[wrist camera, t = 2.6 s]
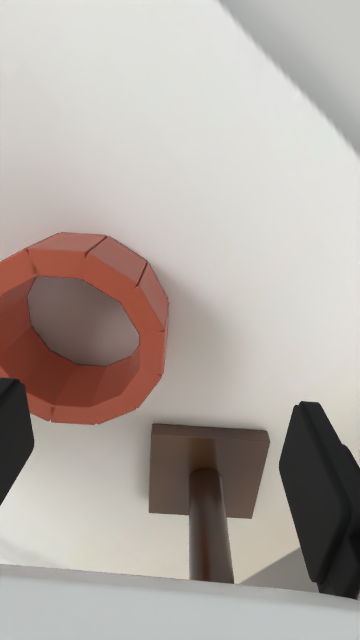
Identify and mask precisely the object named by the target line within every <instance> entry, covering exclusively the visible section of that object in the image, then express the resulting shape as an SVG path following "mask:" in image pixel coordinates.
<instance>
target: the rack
mask: <svg viewBox="0 0 360 640" xmlns="http://www.w3.org/2000/svg"><path fill="white" fill-rule="evenodd" d="M269 444H270V439H269V436H268V433H267V431H260V430H244V429H227V428H211V427H194V426H178V425H161V424H153V425H152V433H151V457H150V486H149V513H160V514H178V515H189V572H190V580H196V581H206V582H217V583H228V584H234V576H233V568H232V559H231V551H230V543H229V534H228V526H227V517H230V518H247V519H252V515H253V511H254V507H255V503H256V498H257V494H258V490H259V486H260V482H261V478H262V473H263V469H264V465H265V461H266V457H267V453H268V448H269Z"/></svg>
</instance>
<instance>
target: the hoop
mask: <svg viewBox="0 0 360 640" xmlns="http://www.w3.org/2000/svg"><path fill="white" fill-rule="evenodd" d="M146 262H147V260H145V259H144V258H142V257H140V256H139V255H137V254H136V253H134V252H133V251H131V250H130V249H128V248H126V247H125V246H123V245H122V244H120V243H119V242H117V241H116V240H114V239H112V238H111V237H107V238H106V235H94V234H79V233H65V232H62V233H57V234H55V235H53V236H51V237H49V238H46V239H44V240H42V241H40V242H38V243H36V244H33V245H31V246H29V247H27V248H25V249H23V250H21V251H19V252H17V253H16V254H14V255H12V256H10V257H8V258H7V259H5V260H3V261H1V262H0V378H2V377H3V378H16V379H19V380H20V382H21V383H23V384H24V385H25V388H26V394H27V400H28V406H29V412H30V413H31V414H33V415H36V416H38V417H40V418H42V419H44V420H46V421H50V419H51V422H55V423H71V424H88V425H95V424H96V423H97V424H101V423H103V422H106V421H108V420H111V419H114V418H116V417H119V416H121V415H124V414H126V413H129V412H131V411H134V410H136V408H139V406H140V405H141V404H142V402H143V401H144V400H145V399H146V397H147V396H148V395H149V393H150V392H151V391H152V390H153V388H154V387H155V386H156V384H157V383H158V382H159V380H160V379H161V378H162V374H163V371H164V362H165V353H166V345H167V334H168V315H169V302H168V297H167V296H166V294H165V292H164V290H163V288H162V286H161V284H160V283H159V281H158V279H157V277H156V275H155V273H154V272H153V270H152V268H151V266H150V264H149V263H147V264H146ZM36 276H50V277H65V278H80V279H82V280H84V281H86V282H87V283H89V284H91V285H92V286H94V287H96V288H97V289H99V290H101V291H102V292H104V293H106V294H107V295H109V296H111V297H112V298H114V299H116V300H118V301H119V302H120V303H121V305H122V307H123V308H124V310H125V311H126V313H127V315H128V316H129V318H130V320H131V321H132V323H133V325H134V326H135V328H136V329H137V331H138V333H139V334H140V338H139V346H138V348H137V349H136V350H135V352H134V353H133V355H132V356H130V357H127V358H125V359H123V360H120V361H118V362H116V363H114V364H111V365H109V366H107V367H105V366H89V365H77V364H75V363H73V362H71V361H69V360H67V359H65V358H63V357H61V356H60V355H58V354H56V353H54V352H52V351H50V350H49V349H48V347H47V346H46V345H45V343H44V342H43V341H42V339H41V338H40V337H39V335H38V334H37V333H36V331H35V330H34V329H33V327H32V326H31V322H30V315H29V308H28V301H27V295H28V293H29V291H30V289H31V287H32V285H33V283H34V280H35V278H36Z"/></svg>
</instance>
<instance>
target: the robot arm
mask: <svg viewBox="0 0 360 640" xmlns="http://www.w3.org/2000/svg"><path fill="white" fill-rule="evenodd" d="M33 448H34V436H33V430H32V424H31V418H30V412H29V406H28V400H27V394H26V388H25V385H24V384H23V383H21V382H20V380H19V379H16V378H3V377H2V378H0V505H1V504H2V502H3V500H4V499H5V497H6V495H7V493H8V492H9V490H10V488H11V487H12V485H13V483H14V482H15V480H16V478H17V477H18V475H19V473H20V471H21V470H22V468H23V466H24V465H25V463H26V461H27V460H28V458H29V456H30V454H31V453H32V451H33ZM279 471H280V475H281V479H282V482H283V486H284V489H285V493H286V496H287V500H288V503H289V507H290V511H291V514H292V518H293V521H294V525H295V528H296V532H297V535H298V539H299V542H300V546H301V549H302V553H303V556H304V559H305V563H306V567H307V570H308V574H309V577H310V579H311V581H312V582H317V586H318V589H319V592H320V593H313V592H305V591H296V590H287V589H277V588H270V587H260V586H250V585H239V584H228V583H217V582H206V581H196V580H185V579H174V578H162V577H151V576H140V575H128V574H117V573H105V572H93V571H82V570H70V569H58V568H45V567H33V566H21V565H7V564H0V640H360V468H359V466H358V464H357V463H356V461H355V459H354V457H353V455H352V454H351V452H350V450H349V449H348V447H347V446H345V445H343V444H342V443H341V441H340V439H339V438H338V436H337V434H336V432H335V430H334V429H333V427H332V425H331V423H330V421H329V419H328V418H327V416H326V414H325V412H324V410H323V408H322V407H321V405H320V404H319V403H318V402H306V401H301V402H300V403H299V405H295V406H294V408H293V412H292V415H291V419H290V423H289V427H288V430H287V434H286V438H285V442H284V445H283V449H282V453H281V457H280V461H279Z"/></svg>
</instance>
